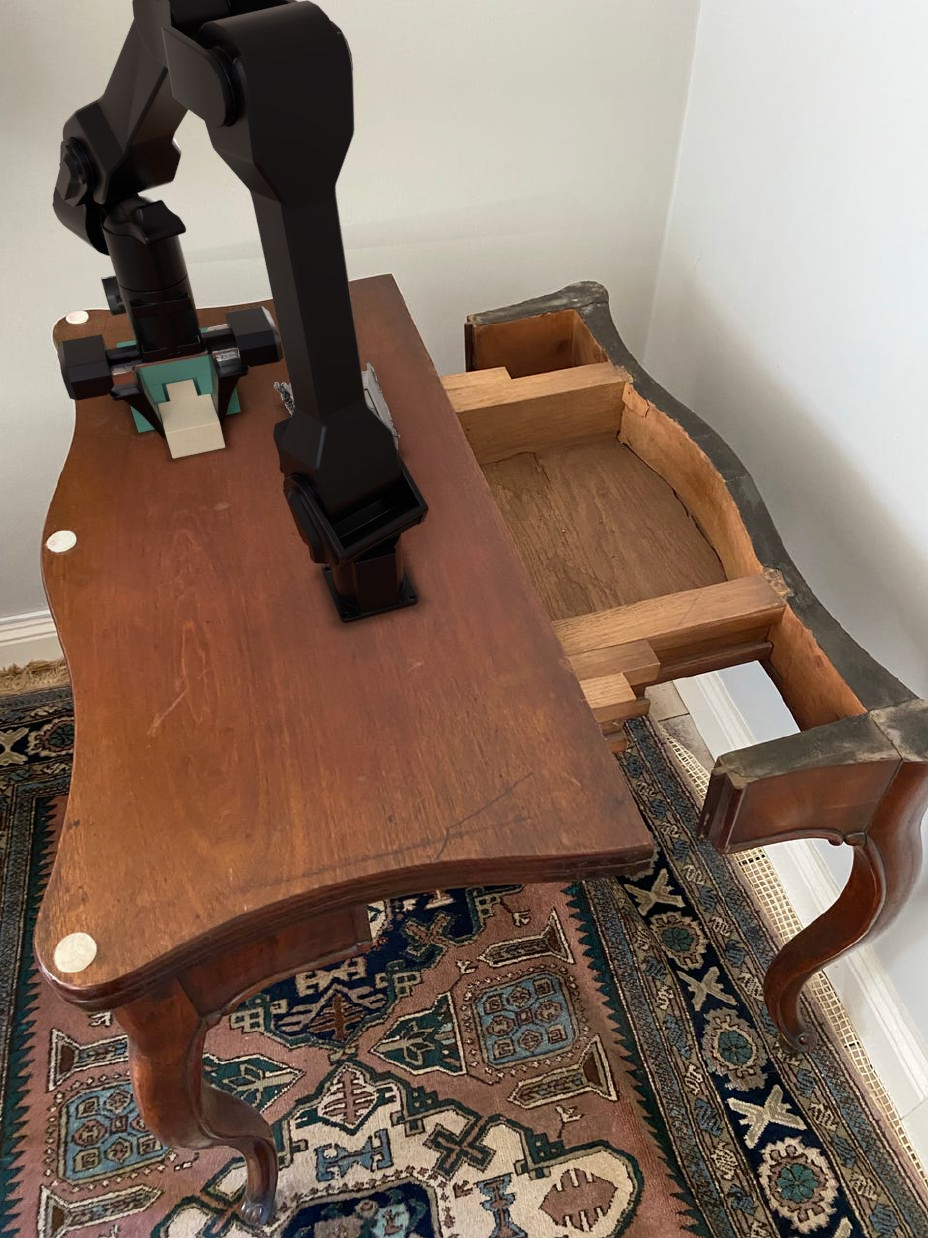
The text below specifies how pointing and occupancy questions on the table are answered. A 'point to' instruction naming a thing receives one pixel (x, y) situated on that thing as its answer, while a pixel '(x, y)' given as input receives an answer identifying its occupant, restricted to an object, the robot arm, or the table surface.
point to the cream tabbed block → (190, 421)
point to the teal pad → (174, 373)
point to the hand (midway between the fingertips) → (192, 429)
